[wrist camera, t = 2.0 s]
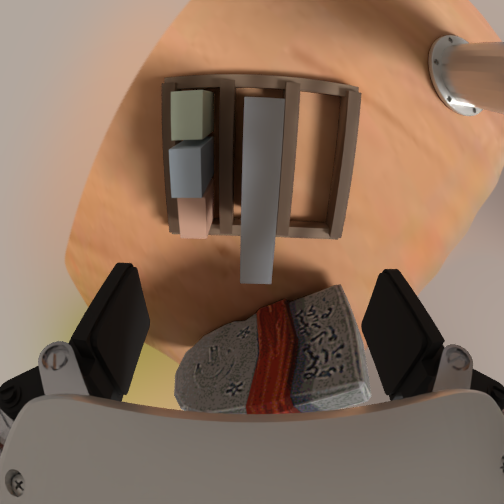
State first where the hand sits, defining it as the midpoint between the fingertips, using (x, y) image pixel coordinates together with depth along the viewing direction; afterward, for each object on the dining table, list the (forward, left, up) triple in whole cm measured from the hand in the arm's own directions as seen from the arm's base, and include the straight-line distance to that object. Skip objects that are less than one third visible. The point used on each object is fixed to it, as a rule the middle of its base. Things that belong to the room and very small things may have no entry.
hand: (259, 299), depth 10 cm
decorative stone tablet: (-2, +27, -26) cm, 38 cm away
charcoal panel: (0, 0, -26) cm, 26 cm away
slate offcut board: (+6, 0, -26) cm, 27 cm away
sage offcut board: (+6, -6, -26) cm, 27 cm away
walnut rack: (-1, 0, -26) cm, 26 cm away
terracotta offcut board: (+6, +5, -26) cm, 27 cm away
